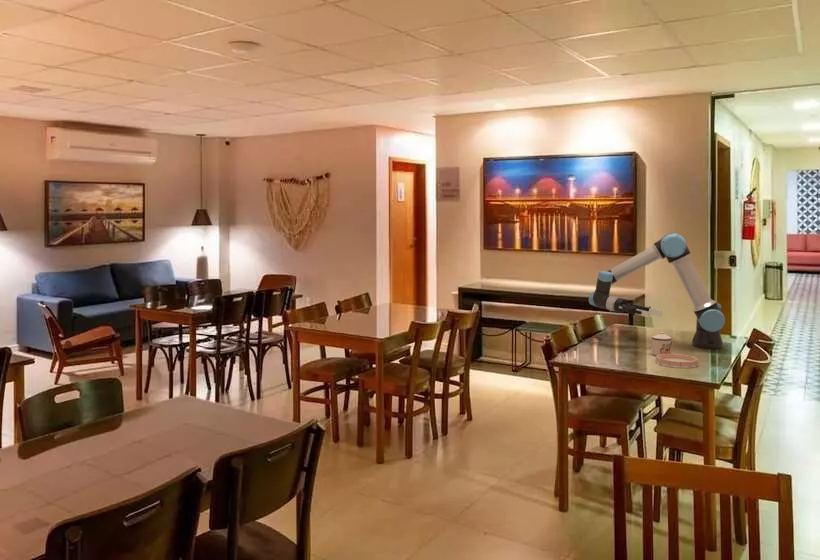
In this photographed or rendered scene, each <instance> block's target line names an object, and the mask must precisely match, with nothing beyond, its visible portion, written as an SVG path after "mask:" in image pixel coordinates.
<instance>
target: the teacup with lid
mask: <svg viewBox="0 0 820 560" xmlns="http://www.w3.org/2000/svg"><path fill="white" fill-rule="evenodd" d="M651 340H652V342H651V343H652V344H651V355H652V356H653V357H654V356H655V357H656V356H657V355H660V354H671V350H672V348H673V345H674V342H673V340H672V337H671V336H670V335H667V334H666V333H665V332H664V331H659V333H657V334H655V335H652V337H651Z"/></svg>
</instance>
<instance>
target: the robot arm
mask: <svg viewBox="0 0 820 560" xmlns="http://www.w3.org/2000/svg"><path fill="white" fill-rule="evenodd" d="M691 254H692V252H691V251H690V249H689V246H688V245H687V241H686V239H685V238H684V237H683V236H682V235H680V234H678V233H676V232H673V233H672V232H671V233H668V234H665V235H664V236H663V237H661V238H660V239H659V240H657V241H656V242H654V243H653V244H652V246H651V247H649V248H647V249H645V250H644V251H641V252H640V253H637V254H636V255H634V256H632V257H629V259H626V260H625V261H624V262H622V263H619V264H618V265H616V266H614V267H612V268H610V269H608V270H607V271H605V270H599V271H598V274H597V278H596V285H595V290H594V291H591V293H590V294H589V297H588V303H589V305H591V306H594V307H596V308H600V309H605V310H609V312H616V313H620V314H623V313H624V312H626V313H629V314H631V315H632V316H635V315H636V316H640V317H641V316H642V317H645V318H649V314H651V315H654V316H657V317H661V316H662V314H663V313H662V310H659V309H656V308H655V309H654V308H652V307H651V306H643V305H637V304H634V303H628V301H627V299H625V298H621V297H618V296H614V295H610V293H611V292H610V291H611V288H612V287H611V286H612V285H613V284H615V283H617V282H619V281H621V280H623V279H624V278H626V277H628V276H630V275H632V274H634V273H635V272H637V271H639V270H641V269H643V268H645V267H646V266H649V265H650V264H652V263H654V262H656V261H658V260H664V259H665V258H666V260H667V262H668V264H669V265H673V267H674V269H675V270H676V273H677V275H678V277H679V279H680V281H681V282H682V284H683V287H684V288H685V290H686V293H687V295H688V296H689V298H690V300H691V303H692V304H693V306H694V308H693V312H694V315H695V316H696V323H695V325H696V326H695V333H694V336H693V338H692V340H691V346H693V347H695V348H701V349H702V348H703V349H712V350H715V349H722V348H723V347H724V341H723V339H722V335H721V329H722V328H723V327H724V326H725V323H726V318H725V315H724V313H723V312H722V305H721V304H720V303H717V301H716V300H713V299H712V298H711V296H710V294H709V293H708V290H707V288H706V286H705V285H704V283H703V281H702V279H701V277H700V275H699V272H698V271H697V269H696V268H695V265H694V264H693V262H692V259H691Z"/></svg>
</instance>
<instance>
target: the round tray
mask: <svg viewBox="0 0 820 560" xmlns="http://www.w3.org/2000/svg"><path fill="white" fill-rule="evenodd" d="M655 361H656V364H658V365H659V366H663V367H668V368H676V369H691V368H692V369H693V368H696V367H698V364H699V358H697V357H695V356H692V355H686V354H682V353H681V354H679V353H670V354H660V355H657V356H655Z"/></svg>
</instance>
